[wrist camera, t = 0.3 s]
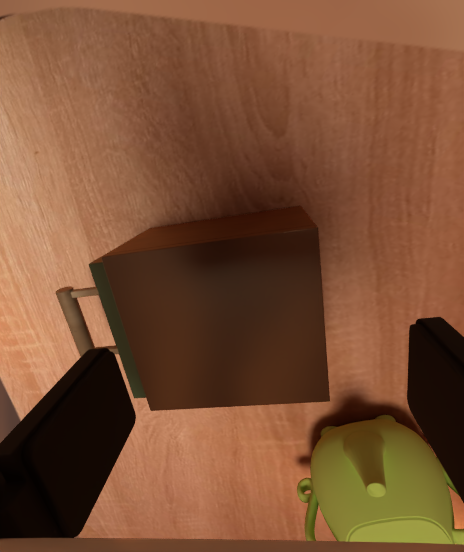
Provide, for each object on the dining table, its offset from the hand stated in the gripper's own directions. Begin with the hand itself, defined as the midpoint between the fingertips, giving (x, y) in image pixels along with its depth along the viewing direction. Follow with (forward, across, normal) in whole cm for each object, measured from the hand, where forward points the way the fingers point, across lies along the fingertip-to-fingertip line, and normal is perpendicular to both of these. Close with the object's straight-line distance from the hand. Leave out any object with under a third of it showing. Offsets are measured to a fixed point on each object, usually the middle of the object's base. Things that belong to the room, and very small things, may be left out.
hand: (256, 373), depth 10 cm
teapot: (+21, -8, +27) cm, 35 cm away
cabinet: (+21, +4, +5) cm, 22 cm away
